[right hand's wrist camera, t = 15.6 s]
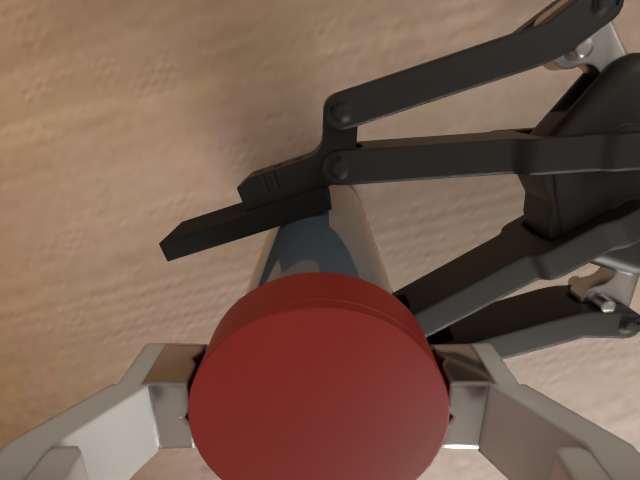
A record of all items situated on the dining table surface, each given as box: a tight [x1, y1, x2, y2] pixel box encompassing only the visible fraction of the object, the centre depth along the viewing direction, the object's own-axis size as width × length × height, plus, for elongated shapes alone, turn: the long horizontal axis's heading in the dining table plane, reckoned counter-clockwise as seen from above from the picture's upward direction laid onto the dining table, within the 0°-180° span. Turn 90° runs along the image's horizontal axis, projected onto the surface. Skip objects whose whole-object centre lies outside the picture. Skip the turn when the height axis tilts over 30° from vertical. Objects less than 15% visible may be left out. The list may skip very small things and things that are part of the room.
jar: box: [245, 185, 395, 297], centre depth 16 cm, size 5×5×15 cm
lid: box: [188, 272, 450, 480], centre depth 9 cm, size 6×6×2 cm
